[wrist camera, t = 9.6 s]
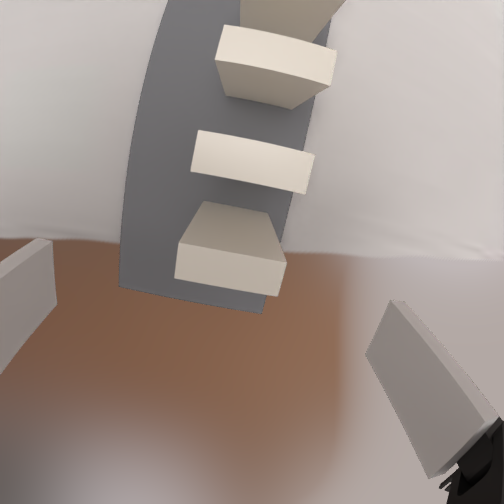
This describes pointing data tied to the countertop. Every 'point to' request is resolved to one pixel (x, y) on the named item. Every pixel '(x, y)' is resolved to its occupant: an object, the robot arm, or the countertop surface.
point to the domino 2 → (272, 67)
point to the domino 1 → (288, 16)
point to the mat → (182, 149)
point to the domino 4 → (231, 250)
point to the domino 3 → (252, 161)
